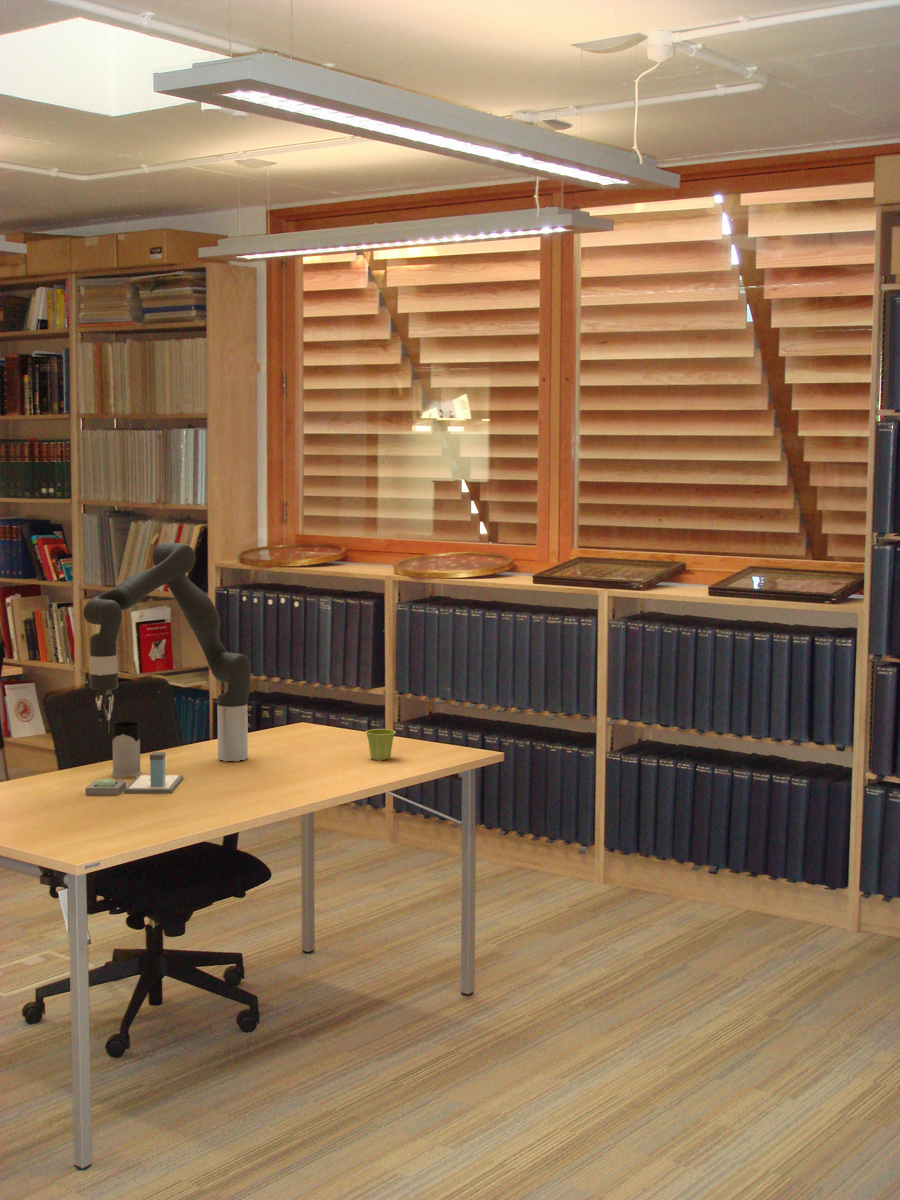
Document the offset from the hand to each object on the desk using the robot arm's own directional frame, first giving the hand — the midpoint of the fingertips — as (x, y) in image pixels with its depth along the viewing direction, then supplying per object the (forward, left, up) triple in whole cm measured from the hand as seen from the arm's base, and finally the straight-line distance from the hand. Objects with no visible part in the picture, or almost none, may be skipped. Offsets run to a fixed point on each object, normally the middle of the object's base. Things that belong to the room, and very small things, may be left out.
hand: (105, 733), depth 355 cm
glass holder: (-24, +1, -17) cm, 29 cm away
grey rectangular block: (-2, +14, -15) cm, 21 cm away
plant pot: (-44, +75, -17) cm, 88 cm away
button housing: (0, 0, -16) cm, 16 cm away
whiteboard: (-7, +12, -16) cm, 21 cm away
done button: (0, 0, -16) cm, 16 cm away
